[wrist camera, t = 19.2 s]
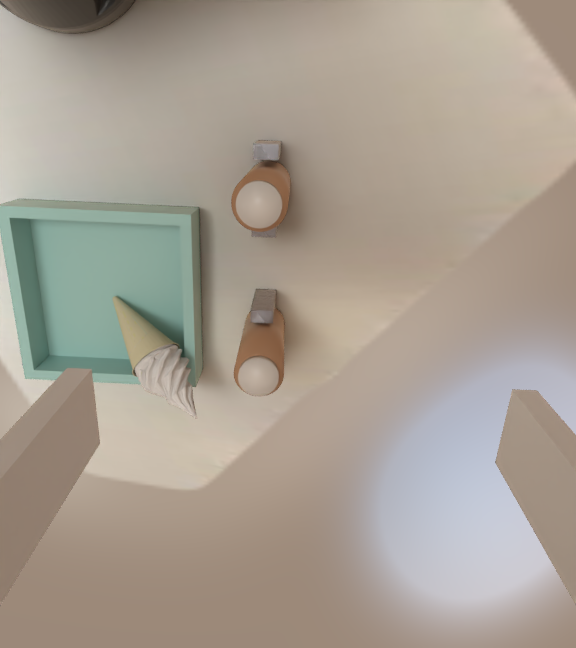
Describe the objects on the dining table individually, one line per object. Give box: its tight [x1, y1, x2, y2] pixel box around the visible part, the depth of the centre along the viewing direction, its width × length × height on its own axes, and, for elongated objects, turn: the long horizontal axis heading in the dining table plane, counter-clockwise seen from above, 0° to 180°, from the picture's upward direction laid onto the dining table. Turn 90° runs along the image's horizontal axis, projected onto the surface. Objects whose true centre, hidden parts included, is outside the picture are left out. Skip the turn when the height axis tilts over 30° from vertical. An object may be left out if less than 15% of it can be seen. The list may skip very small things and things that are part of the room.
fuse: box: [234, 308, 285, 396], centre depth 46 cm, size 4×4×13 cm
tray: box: [0, 199, 203, 387], centre depth 50 cm, size 17×17×4 cm
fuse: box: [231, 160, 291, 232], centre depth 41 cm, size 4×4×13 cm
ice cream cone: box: [112, 296, 197, 419], centre depth 49 cm, size 5×5×15 cm
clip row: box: [251, 140, 281, 323], centre depth 47 cm, size 21×2×6 cm, turn 178°
